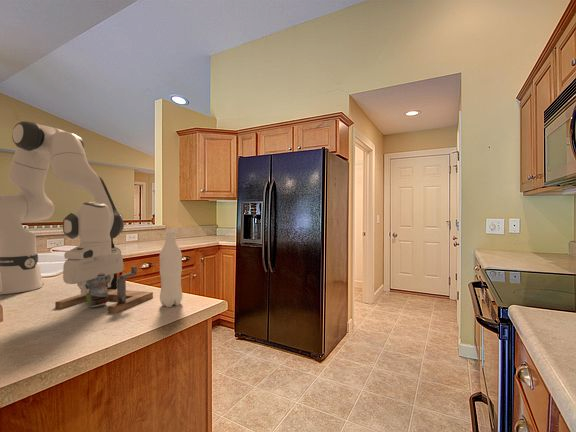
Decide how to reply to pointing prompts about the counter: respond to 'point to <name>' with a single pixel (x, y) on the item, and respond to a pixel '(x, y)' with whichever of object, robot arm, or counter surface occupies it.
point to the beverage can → (97, 291)
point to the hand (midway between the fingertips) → (96, 290)
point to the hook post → (124, 285)
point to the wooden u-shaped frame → (131, 299)
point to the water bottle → (170, 271)
